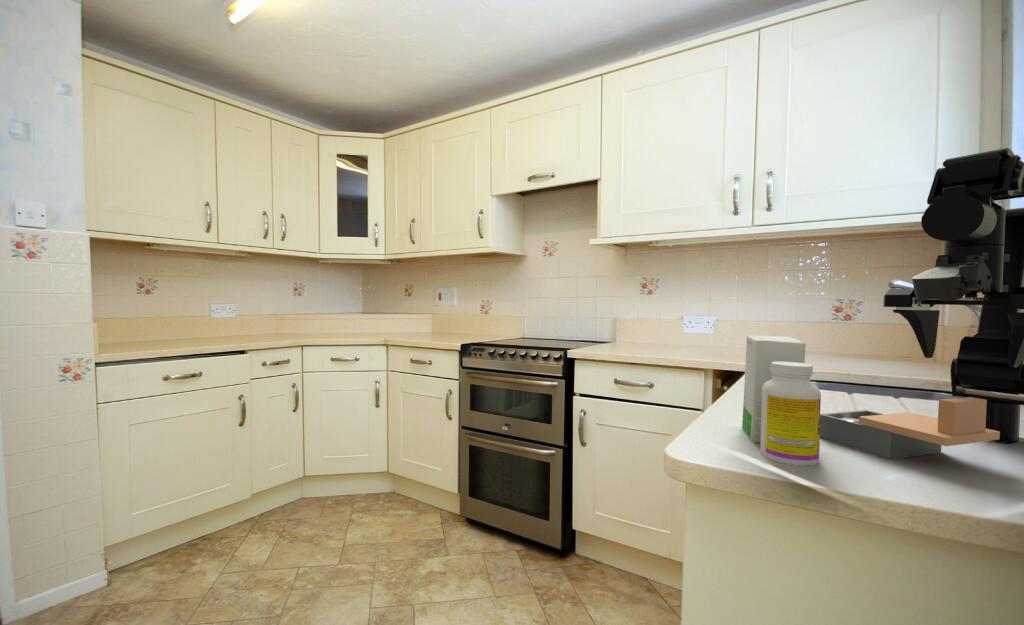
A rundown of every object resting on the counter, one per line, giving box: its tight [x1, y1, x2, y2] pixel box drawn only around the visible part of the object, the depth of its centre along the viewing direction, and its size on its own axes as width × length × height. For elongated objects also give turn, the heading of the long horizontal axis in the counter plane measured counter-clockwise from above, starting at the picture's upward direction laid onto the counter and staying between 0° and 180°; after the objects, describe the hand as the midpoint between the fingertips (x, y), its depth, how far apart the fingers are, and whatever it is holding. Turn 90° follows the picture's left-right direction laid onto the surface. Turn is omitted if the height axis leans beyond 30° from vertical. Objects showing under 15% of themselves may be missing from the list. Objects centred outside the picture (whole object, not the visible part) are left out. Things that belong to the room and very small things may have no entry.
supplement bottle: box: [759, 361, 822, 466], centre depth 60 cm, size 7×7×13 cm
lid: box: [859, 397, 1000, 447], centre depth 60 cm, size 10×10×5 cm
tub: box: [820, 409, 942, 460], centre depth 66 cm, size 10×10×4 cm
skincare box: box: [741, 334, 807, 443], centre depth 69 cm, size 8×7×16 cm
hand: (968, 362), depth 62 cm, fingers open, 9 cm apart
